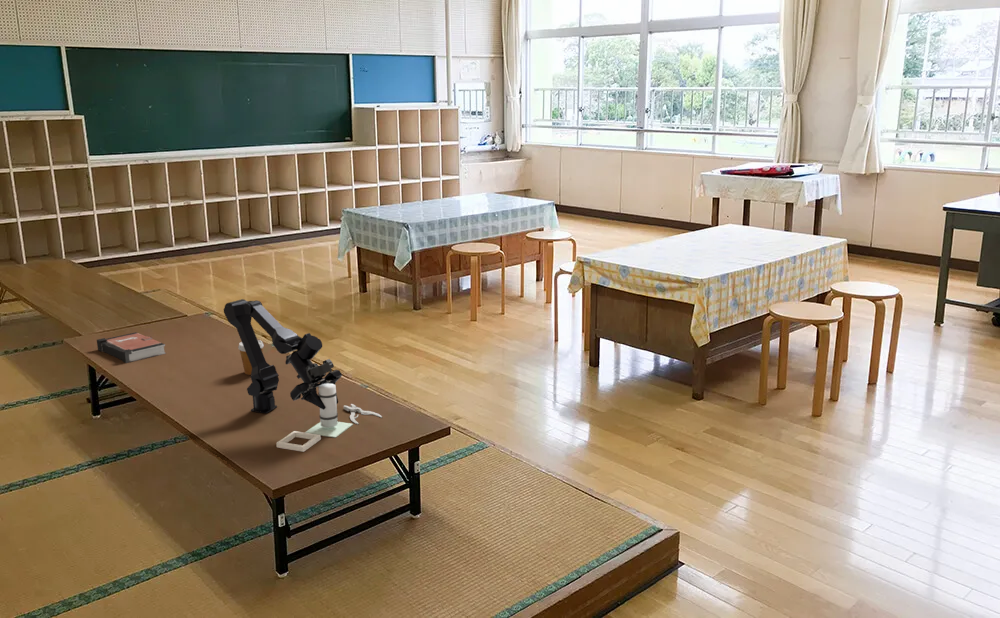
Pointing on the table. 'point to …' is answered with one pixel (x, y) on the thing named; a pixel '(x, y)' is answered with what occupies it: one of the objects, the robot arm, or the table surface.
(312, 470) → the table surface
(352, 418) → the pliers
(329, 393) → the grey-banded white cylinder
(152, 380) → the table surface
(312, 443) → the white square frame
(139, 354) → the book
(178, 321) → the table surface
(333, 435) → the mat
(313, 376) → the robot arm
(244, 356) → the disposable coffee cup
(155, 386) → the table surface
